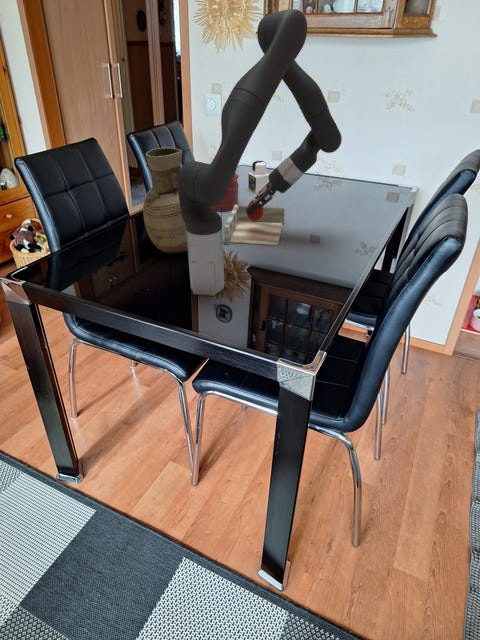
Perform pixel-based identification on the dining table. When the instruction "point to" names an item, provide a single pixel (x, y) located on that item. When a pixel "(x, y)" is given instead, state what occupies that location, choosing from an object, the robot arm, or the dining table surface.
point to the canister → (229, 197)
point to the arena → (254, 226)
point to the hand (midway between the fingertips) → (249, 209)
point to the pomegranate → (255, 213)
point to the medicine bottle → (258, 176)
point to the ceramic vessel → (165, 202)
